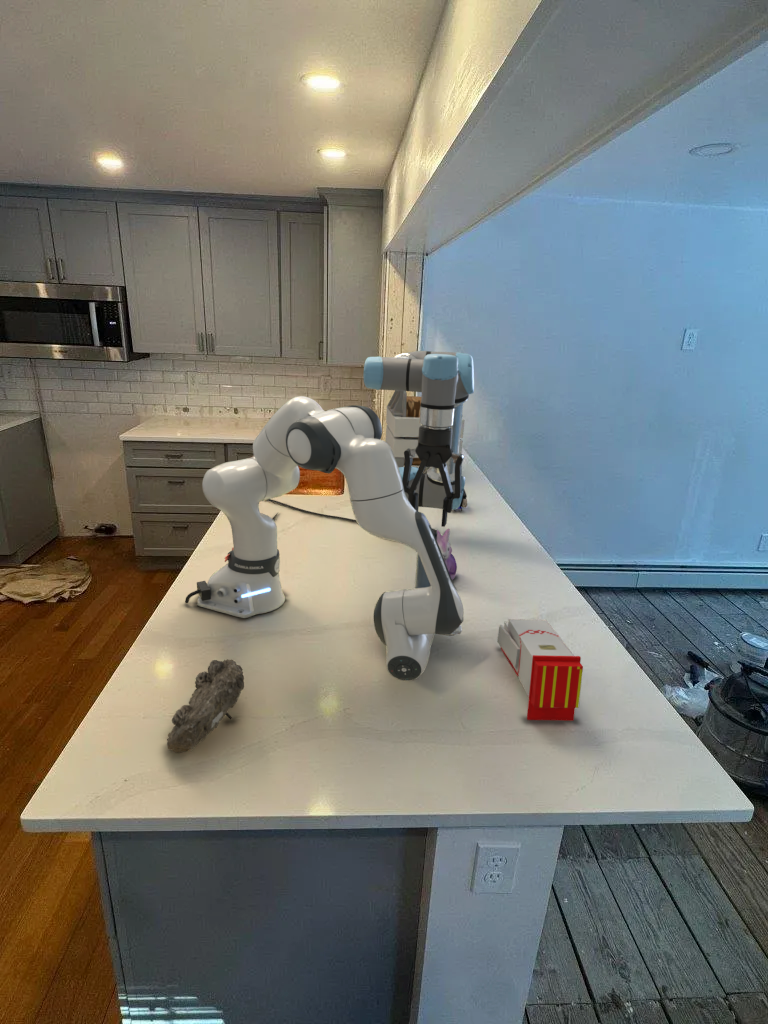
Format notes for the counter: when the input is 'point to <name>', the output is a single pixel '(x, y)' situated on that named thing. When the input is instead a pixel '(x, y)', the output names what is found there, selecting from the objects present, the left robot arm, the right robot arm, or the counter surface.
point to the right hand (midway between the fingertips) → (428, 522)
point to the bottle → (421, 575)
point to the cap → (435, 533)
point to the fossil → (206, 705)
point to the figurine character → (463, 501)
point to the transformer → (405, 426)
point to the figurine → (447, 552)
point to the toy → (542, 668)
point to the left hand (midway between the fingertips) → (423, 600)
